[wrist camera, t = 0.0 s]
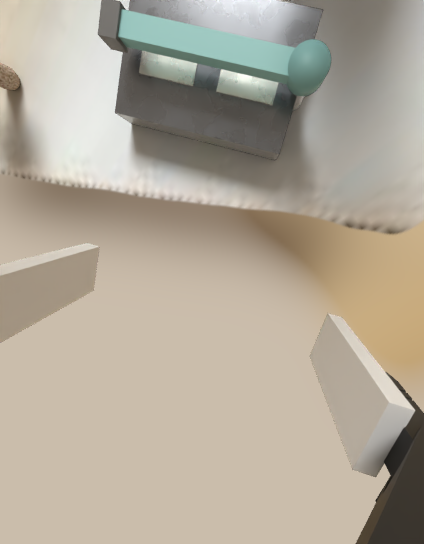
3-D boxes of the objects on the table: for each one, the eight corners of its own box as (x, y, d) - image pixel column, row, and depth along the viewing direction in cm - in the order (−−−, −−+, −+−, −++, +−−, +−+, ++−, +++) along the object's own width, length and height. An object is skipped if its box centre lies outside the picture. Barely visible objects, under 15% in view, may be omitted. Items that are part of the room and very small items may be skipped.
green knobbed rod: (329, 59, 28) (337, 44, 25) (315, 101, 29) (322, 91, 26) (115, 11, 30) (102, -8, 27) (110, 53, 31) (97, 39, 28)
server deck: (149, 1, 35) (122, -53, 28) (320, 38, 34) (340, -8, 26) (131, 123, 40) (103, 105, 32) (282, 161, 38) (290, 152, 30)
